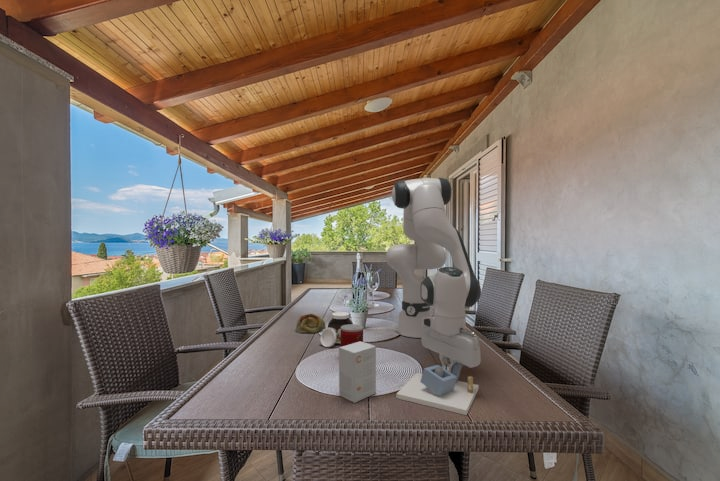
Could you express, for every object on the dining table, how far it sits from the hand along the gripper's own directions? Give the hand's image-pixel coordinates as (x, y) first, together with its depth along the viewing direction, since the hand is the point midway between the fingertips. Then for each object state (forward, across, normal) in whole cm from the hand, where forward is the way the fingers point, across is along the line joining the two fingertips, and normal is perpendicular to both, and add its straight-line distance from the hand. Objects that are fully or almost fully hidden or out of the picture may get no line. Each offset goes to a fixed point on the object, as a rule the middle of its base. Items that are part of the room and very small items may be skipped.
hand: (448, 371), depth 101 cm
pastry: (+6, +72, +12) cm, 74 cm away
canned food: (+4, +32, +14) cm, 35 cm away
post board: (+3, -4, +8) cm, 9 cm away
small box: (+4, +7, +27) cm, 28 cm away
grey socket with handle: (+1, -3, +5) cm, 6 cm away
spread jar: (+5, +48, +11) cm, 50 cm away
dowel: (+2, -9, +1) cm, 10 cm away
